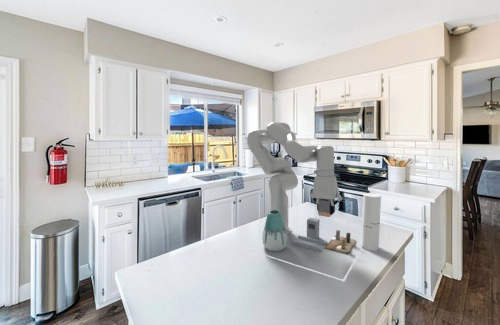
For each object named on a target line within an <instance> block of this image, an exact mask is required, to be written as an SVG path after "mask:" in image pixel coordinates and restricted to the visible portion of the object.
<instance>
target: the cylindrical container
mask: <svg viewBox="0 0 500 325" xmlns="http://www.w3.org/2000/svg"><path fill="white" fill-rule="evenodd" d="M381 202H382V195H381V194H380V193H379V194H378V193H374V192H373V193H372V192H371V193H370V192H367V193H363V203H362V220H361V221H362V224H361V226H362V227H361V230H362V231H361V244H360V245H361V248H362V249H364V250H365V251H369V252H370V251H371V252H376V251H378V250H379V246H380V245H379V244H380V225H381V224H380V221H381V204H382V203H381Z"/></svg>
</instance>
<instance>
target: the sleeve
mask: <svg viewBox="0 0 500 325" xmlns="http://www.w3.org/2000/svg"><path fill="white" fill-rule="evenodd" d="M330 206H331V202H330V200H327V199H320V200H318V210H317V215H318V216H319V217H325V218H330V217H331V216H333V215H334V214H332V215H331V214H330Z"/></svg>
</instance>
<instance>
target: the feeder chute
mask: <svg viewBox="0 0 500 325" xmlns="http://www.w3.org/2000/svg"><path fill="white" fill-rule="evenodd" d="M291 244H293V245H295V246H299V247H303V248H306V249H309V250H314V251H318V252H322V251H323V250H324V249H325V246H326V245H327V244H328V241H324V240H321V239H313V238H309V237H307V236H305V235H300V234H298V235H297V239H296V240H294V239H293V240H291Z"/></svg>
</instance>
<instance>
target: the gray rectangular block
mask: <svg viewBox="0 0 500 325" xmlns="http://www.w3.org/2000/svg"><path fill="white" fill-rule="evenodd" d="M306 237H309V238H313V239H317V240H319V238H320V218H314V217H309V218H307V219H306Z"/></svg>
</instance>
